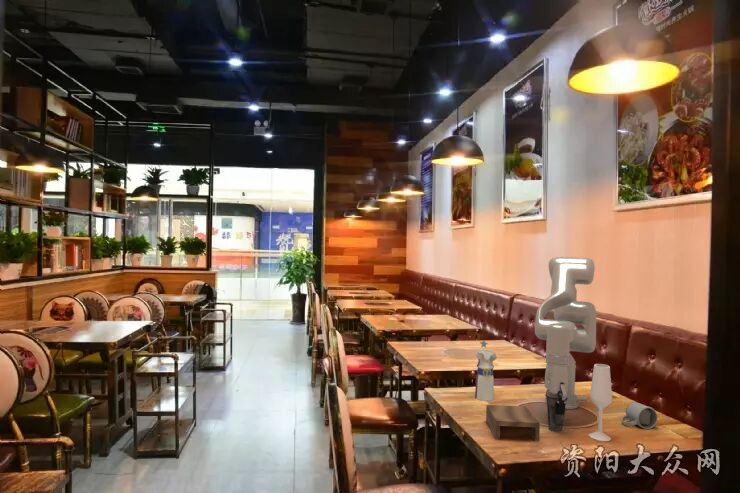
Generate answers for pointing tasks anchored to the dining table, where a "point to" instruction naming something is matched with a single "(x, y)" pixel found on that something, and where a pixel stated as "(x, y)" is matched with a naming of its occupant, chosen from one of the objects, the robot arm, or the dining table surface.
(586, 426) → the dining table surface
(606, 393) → the champagne flute
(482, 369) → the water bottle
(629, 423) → the ceramic mug
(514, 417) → the walnut shelf
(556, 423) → the beverage cup
